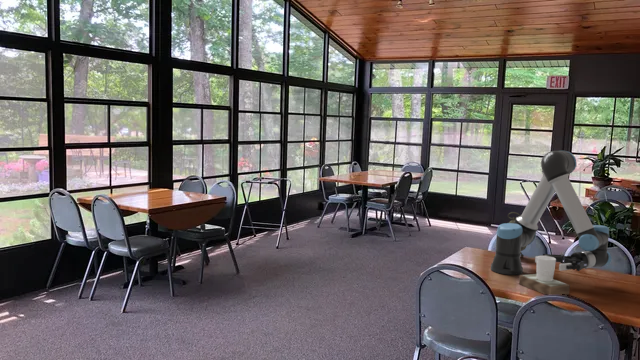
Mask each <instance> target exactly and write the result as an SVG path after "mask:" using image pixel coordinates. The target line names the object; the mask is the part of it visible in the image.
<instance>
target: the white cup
mask: <svg viewBox="0 0 640 360" xmlns="http://www.w3.org/2000/svg"><path fill="white" fill-rule="evenodd" d="M536 256H537V263H536V264H535V265H536V269H535V271H536V273H535V274H536V278H537V279H538V280H540V281H546V282H551V281H553V279H554V275H555V269H556V263H557V262H556V258H554V257H550V256H543V255H536Z"/></svg>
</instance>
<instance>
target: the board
mask: <svg viewBox="0 0 640 360" xmlns="http://www.w3.org/2000/svg"><path fill="white" fill-rule="evenodd" d="M536 274H537V273H533V274H520V275H519V279H518V280H519V281H518V285H520V286H523V287H526V288H528V289H530V290H534V291H535V292H538V293H541V294H544V295H545V294H565V295H570V287H571V284H568V283H565V282H563V281H560V280H557V279H554V278H553V281H551V282H546V281H540V280H538V279H537V278H536Z"/></svg>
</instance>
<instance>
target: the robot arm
mask: <svg viewBox="0 0 640 360" xmlns="http://www.w3.org/2000/svg"><path fill="white" fill-rule="evenodd" d="M577 163H578V161H577V158H576V157H575V155H574V154H573V153H572V152H570V151H566V150H552V151H548V152H547V153H545V154H544V155H543V156H542V158H541V161H540V167H541V174H542V177H541V179H540V180H539V182H538V184H537V185H536V188H535V190H534V191H533V193H532V195H531V197H530V198H529V201H528V202H527V203H526V206H525V208H524V210H523V212H521V213H522V214H520V216H519V215H518V216H517V217H515V221H514V223H509V222H507V223H506V222H505V223H501V224H499V225H498V226H497V228H496V243H495V255H494V257H493V259H492V262H491V264H490V270H491V271H492V272H494V273H497V274H501V275H507V276H508V275H509V276H517V275H518V276H521V275H523V273H524V271H523V270H524V268H523V266H522V265H523V264H522V260H521V254H520V252H521V253H522V251H521V247H524V246H527V247H528V246H529V245H531V244H532V243H533V242H534V241H535V240H536V236H537V231H538V229H539V226H538V223H539V222H540V219H541V218H542V215H543V214H544V212H545V211H546V209H547V207H548V205H549V203H550V202H551V200H552V198H553V196H554V195H555V194H556V195H557V198H558V199H559V201H560V203H561V205H562V208H563V209H564V211H565V213H566V215H567V217H568V219H569V222H570V223H571V224H572V227H573V229H574V231H575V233H576V235H577V237H578V246H579V247H580V249H582V250H584V251H577V252H575V251H574V252H573V253H571V254H570V255H565V254H553V253H552V254H550V253H549V254H547V253H542V256H550V257H554V258H556V263H559V265H558V271H560V272H561V271H568V270H569V271H571V270H573V271H574V270H576V271H577V272H580V271H581V270H584V269H586V270H587V269H590V268H602V267H607V266H609V265H611V263H612V259H613V258H612V255H611V253H610V252H609V251H608V246H609V245H608V244H609V236H610V228H609V227H608V226H606V225H600V224H593V223H592V221H591V219H590V218H589V216H588V213H587V212H586V210H585V207H584V206H583V204H582V202H581V200H580V198H579V196H578V194H577V192H576V191H575V189H574V186H573V185H572V183H571V180H570V179H569V176H570V174H572V173H573V172H574V171H575V170H576V168H577ZM537 256H538V255H535V257H534V258H535V259H534V263H536V264H537Z"/></svg>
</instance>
